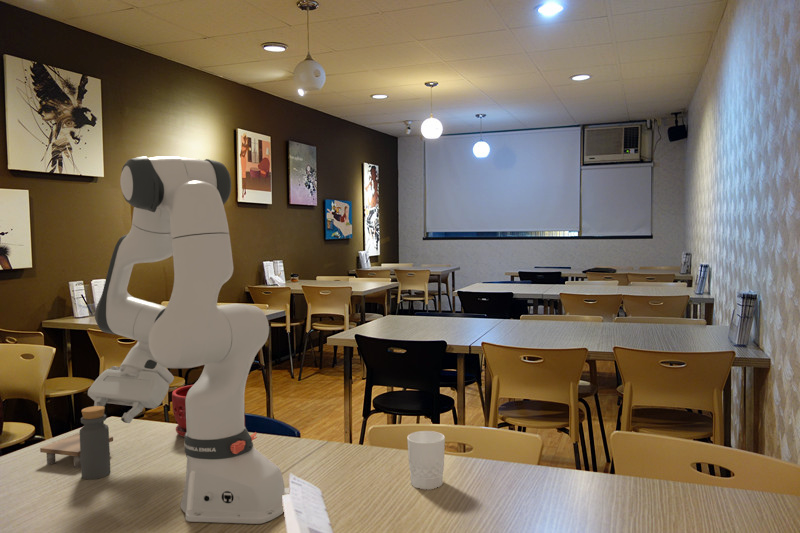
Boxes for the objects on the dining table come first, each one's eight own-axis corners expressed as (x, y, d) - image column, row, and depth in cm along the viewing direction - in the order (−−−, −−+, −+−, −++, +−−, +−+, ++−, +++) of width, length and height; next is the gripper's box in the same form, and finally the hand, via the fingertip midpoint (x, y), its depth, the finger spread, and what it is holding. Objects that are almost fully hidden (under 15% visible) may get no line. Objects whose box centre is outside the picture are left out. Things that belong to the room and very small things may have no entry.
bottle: (102, 479, 135) (99, 412, 134) (76, 479, 135) (73, 412, 134) (115, 469, 141) (112, 404, 140) (89, 469, 141) (87, 405, 140)
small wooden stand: (113, 452, 152) (113, 436, 151) (78, 469, 141) (77, 452, 141) (78, 449, 155) (77, 433, 155) (41, 464, 144) (40, 448, 144)
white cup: (453, 482, 130) (452, 435, 129) (428, 494, 124) (428, 445, 123) (424, 473, 135) (424, 428, 135) (400, 484, 129) (399, 437, 129)
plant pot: (162, 438, 162) (160, 393, 162) (196, 423, 174) (195, 381, 174) (202, 443, 157) (200, 397, 157) (234, 428, 169) (233, 385, 169)
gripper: (101, 358, 152) (68, 408, 143) (165, 364, 144) (134, 417, 135) (116, 372, 156) (85, 421, 147) (180, 378, 148) (150, 430, 140)
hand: (109, 419), depth 141 cm, fingers open, 8 cm apart
